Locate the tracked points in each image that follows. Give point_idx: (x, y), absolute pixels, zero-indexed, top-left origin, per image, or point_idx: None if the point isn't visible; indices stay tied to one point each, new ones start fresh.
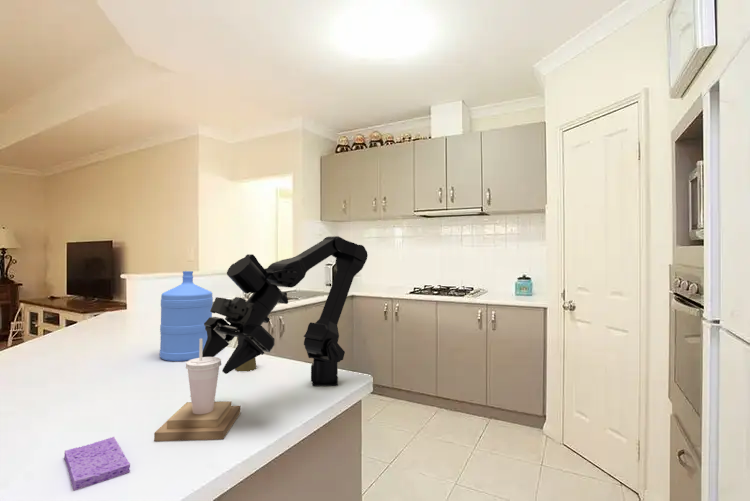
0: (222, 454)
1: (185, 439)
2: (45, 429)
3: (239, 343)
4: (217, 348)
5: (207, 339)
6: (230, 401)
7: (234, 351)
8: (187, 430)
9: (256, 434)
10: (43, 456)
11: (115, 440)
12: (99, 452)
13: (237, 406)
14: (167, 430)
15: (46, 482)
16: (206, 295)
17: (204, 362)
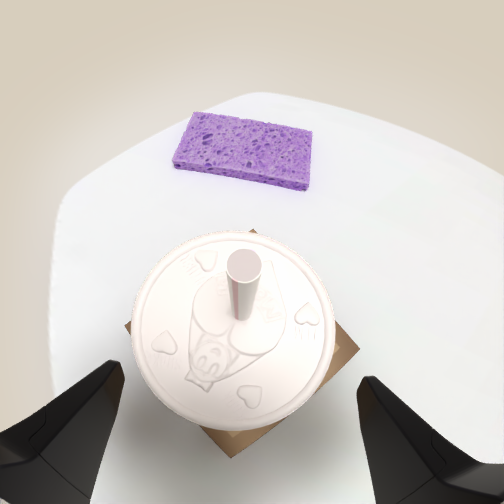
0: (86, 284)
1: None
2: (433, 167)
3: (4, 451)
4: (388, 495)
5: (465, 458)
6: (234, 435)
7: (50, 429)
8: None
9: None
10: (336, 129)
11: (288, 178)
12: (259, 150)
13: (232, 449)
14: None
15: (247, 110)
16: None
17: (193, 308)
